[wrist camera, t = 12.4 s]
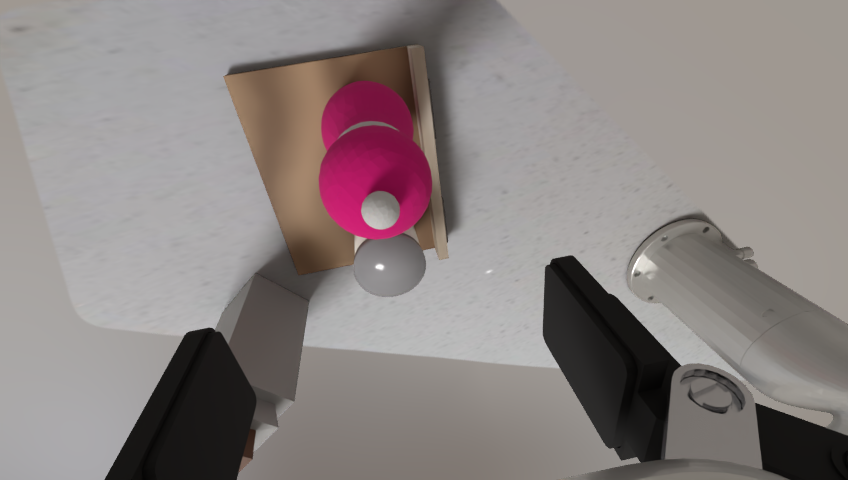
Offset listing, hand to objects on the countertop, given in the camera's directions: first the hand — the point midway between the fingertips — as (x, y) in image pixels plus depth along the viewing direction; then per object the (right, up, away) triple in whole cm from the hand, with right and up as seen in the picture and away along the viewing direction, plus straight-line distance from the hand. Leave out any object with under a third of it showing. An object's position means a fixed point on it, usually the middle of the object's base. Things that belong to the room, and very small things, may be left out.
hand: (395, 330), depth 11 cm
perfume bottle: (-17, -5, +32) cm, 37 cm away
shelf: (-6, +9, +26) cm, 28 cm away
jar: (-3, +4, +28) cm, 29 cm away
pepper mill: (-4, +14, +23) cm, 27 cm away
